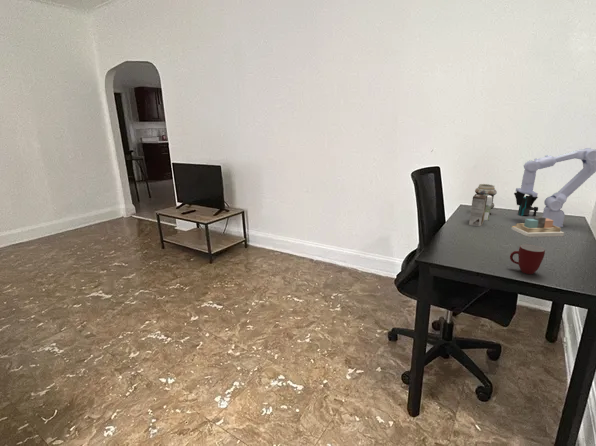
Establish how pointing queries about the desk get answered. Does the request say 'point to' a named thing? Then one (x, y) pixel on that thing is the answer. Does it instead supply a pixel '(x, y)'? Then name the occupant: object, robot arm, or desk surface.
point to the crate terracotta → (548, 223)
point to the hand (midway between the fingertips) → (523, 206)
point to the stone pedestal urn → (486, 191)
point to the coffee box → (478, 209)
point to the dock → (538, 233)
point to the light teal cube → (531, 223)
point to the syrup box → (488, 207)
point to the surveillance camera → (525, 211)
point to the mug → (529, 258)
